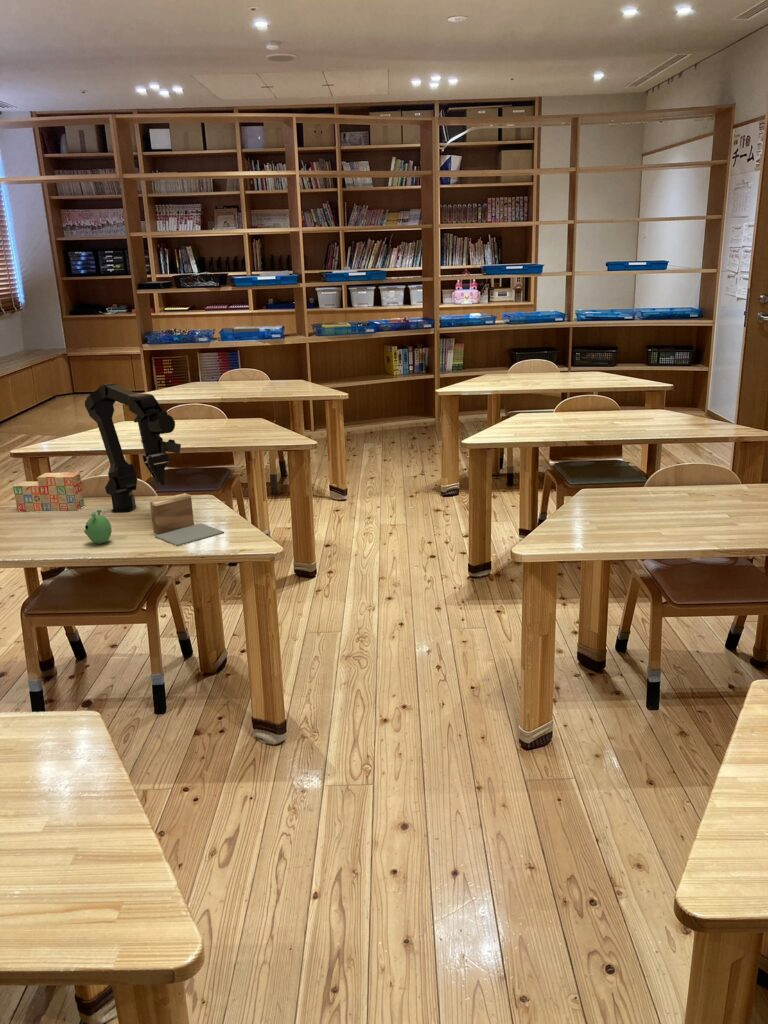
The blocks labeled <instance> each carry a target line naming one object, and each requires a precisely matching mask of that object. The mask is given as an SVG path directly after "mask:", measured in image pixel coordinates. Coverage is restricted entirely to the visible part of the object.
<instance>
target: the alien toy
mask: <svg viewBox="0 0 768 1024" xmlns="http://www.w3.org/2000/svg"><path fill="white" fill-rule="evenodd" d="M102 512H103V510H102V509H97V510H96V512H92V513H91V514H90V516H91V517H90V518H88V520H87V522H86V523H85V526H84V530H83V532H84V534H85V535H86V536H87V538H88V539H89V540H90V541H91V542H93V544H98V545H99V544H100V545H101V544H104V543H106V542H108V541H109V539H110V538H111V536H112V524H111V522H110V521H109V519H108V518H107V517H106V516H104V515H101V513H102ZM97 513H98V514H97Z"/></svg>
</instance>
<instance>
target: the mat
mask: <svg viewBox="0 0 768 1024" xmlns="http://www.w3.org/2000/svg"><path fill="white" fill-rule="evenodd" d="M222 533H223V534H225V531H224V530H220V529H219V528H216V527H214V526H213V527H212V526H209V525H207V524H205V523H202V522H201V523H197V524H194V525H193V526H189V527H185V528H181V529H178V530H174V531H170V532H166V533H163V534H159V535H158V534H156V535H154V538H156V539H158V540H160V539H161V540H160V541H163V542H165V541H166V542H165V543H168V544H170V543H171V544H170V545H172V544H174V545H173V546H175V545H176V546H175V547H180V546H183V545H182V544H184V545H187V544H191V543H193V541H195V542H197V541H201V539H202V540H205V539H208V537H209V538H212V537H215V535H216V536H219V535H223V534H222ZM218 534H219V535H218ZM190 542H191V543H190ZM186 543H187V544H186ZM179 545H180V546H179Z"/></svg>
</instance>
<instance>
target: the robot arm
mask: <svg viewBox="0 0 768 1024" xmlns="http://www.w3.org/2000/svg"><path fill="white" fill-rule="evenodd" d="M116 402H117V403H120V404H122V405H125V406H126V407H127V408H128V410H129V411H130V412H131V413H132V414H134V415H135V416H136V417H135V418H134V419H133V423H137V425H138V430H139V435H140V443H141V444H142V448H143V451H144V452H143V454H142V455H141V459H142V462H143V465H145V467H146V469H147V470H148V472H149V473H150V475H151V476H152V478H153V479H154V480H155V482H156V483H157V484H159V485H160V486H165V484H166V483H165V476H166V475H165V472H166V469H165V468H166V467H167V466H168V465H169V463H170V458H169V454H168V453H173V454H175V455H176V454H178V455H180V454H181V447H182V444H181V443H177V442H176V441H175V439H170V438H169V439H168V440H167V441H164V439H163V437H161V435H163V434H170V433H172V432H174V430H175V428H176V422H175V420H174V417H173V416H171V414H170V415H169V414H168V411H167V410H164V408H163V407H162V406H161V404H160V403H159V401H158V400H157V399H156V397H155V395H153V394H151V393H146V392H145V393H136V392H134V391H131V390H129V389H127V388H124V387H122V386H119V385H118V384H116V383H113V382H110V383H104V384H101V385H100V386H98V388H97V389H95V390H94V391H93V392H91V393H90V394H89V395H88V396H87V397H86V399H85V400H84V407H85V409H86V411H87V413H88V416H89V417H90V418H91V419H92V420H93V421H94V422H95V423H96V424H97V427H98V430H99V433H100V434H99V435H100V437H101V439H102V443H103V446H104V449H105V453H106V455H107V459H108V461H109V469H108V473H107V475H108V481H107V484H106V485H105V487H104V489H105V492H106V494H107V495H110V498H111V505H112V509H111V510H110V511H111V513H124V512H126V513H129V511H130V512H131V511H133V510H134V509H135V508H137V505H136V497H135V494H133V492H134V491H136V490H137V485H138V476H137V473H136V470H135V466H134V465H133V464H132V463H129V462H127V460H126V459H125V455H124V452H123V450H122V446H121V443H120V440H119V437H118V433H117V430H116V427H115V424H114V421H113V417H114V413H115V408H114V405H115V403H116ZM166 452H168V453H166ZM132 509H133V510H132Z"/></svg>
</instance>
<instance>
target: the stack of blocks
mask: <svg viewBox="0 0 768 1024" xmlns="http://www.w3.org/2000/svg"><path fill="white" fill-rule="evenodd" d="M36 479H37V481H20V482H19V483H16V484H15V485H13V486H12V488H13V494H14V499H15V504H16V511H17V512H18V511H19V510H20V511H76V512H78V511H80V510H82V508H81V507H83V506H85V499H84V492H83V491H84V490H83V484H82V483H83V482H82V476H81V472H71V471H70V472H69V471H68V472H67V471H66V472H45V473H43V474H41V475H39V476H37V478H36ZM83 508H84V507H83ZM79 509H80V510H79ZM77 510H78V511H77Z"/></svg>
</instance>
